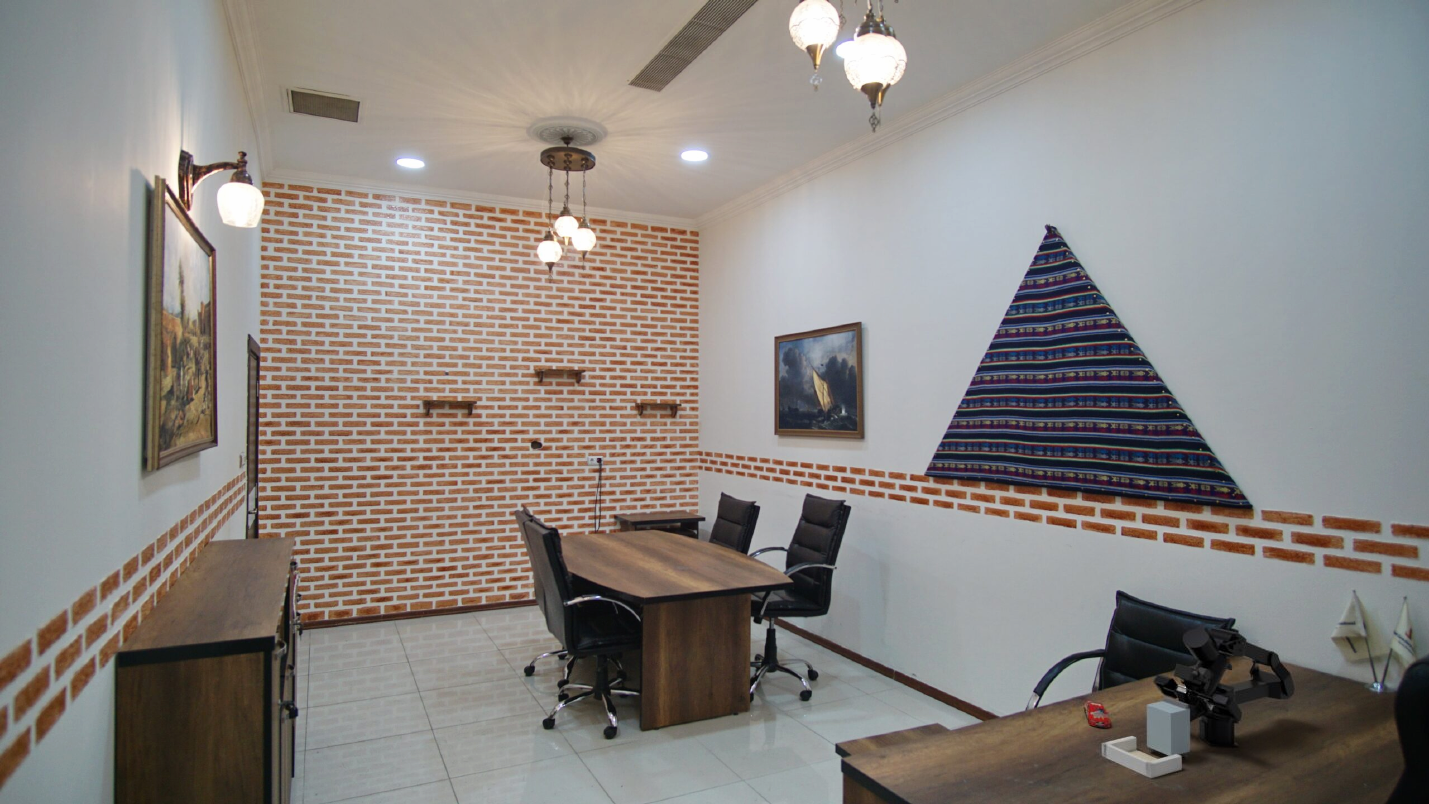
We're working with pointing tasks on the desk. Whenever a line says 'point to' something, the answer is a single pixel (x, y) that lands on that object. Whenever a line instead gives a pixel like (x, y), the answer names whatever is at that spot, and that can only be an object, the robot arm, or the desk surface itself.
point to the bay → (1139, 758)
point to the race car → (1096, 714)
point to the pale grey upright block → (1168, 727)
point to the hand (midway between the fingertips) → (1180, 724)
